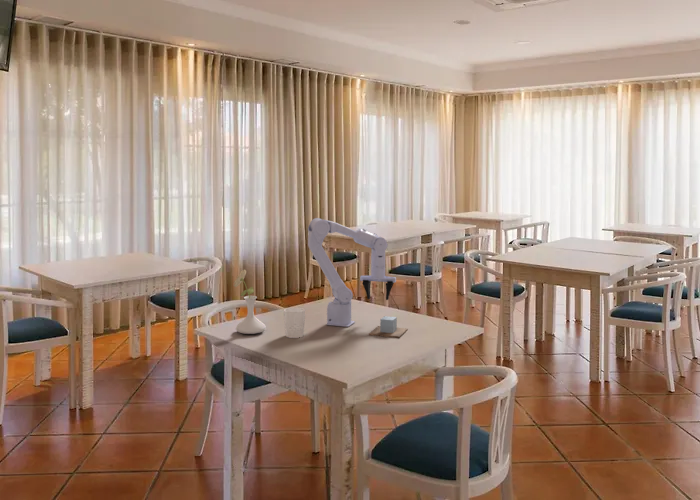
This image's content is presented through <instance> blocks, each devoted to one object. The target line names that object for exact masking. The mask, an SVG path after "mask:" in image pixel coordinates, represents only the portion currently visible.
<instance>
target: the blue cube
mask: <svg viewBox="0 0 700 500" xmlns="http://www.w3.org/2000/svg"><path fill="white" fill-rule="evenodd" d="M397 319H398V318H397V316H387V315H385V316H383V317H381V318H380V321H379V322H380V323H379V324H380V325H379V326H380V332H386V333H394V332H395V331H396V330H397V328H398V326H397V323H398V321H397Z"/></svg>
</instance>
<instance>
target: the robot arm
mask: <svg viewBox="0 0 700 500" xmlns="http://www.w3.org/2000/svg"><path fill="white" fill-rule="evenodd" d="M307 231H308V233H307V234H308V235H307V236H308V237H307V246H308V249H309V250H310V252H311V253H312V255H313V257H314V259H315V260H316V262H317V264H318V265H319V267H320V269H321V270H322V272H323V275H324V277H326V280H327V281H328V283H329V286H330V288H331V293H332V296H333V297H334V299H333V301H329V302H328V304H327V307H326V324H325V325H326V326H335V327H345V328H346V327H347V328H349V327H350V326H352V325H354V323H356V321H355V320H352V300H353V297H354V295H353V291H352V289H350V288H348V287H347V286H346V284H345V282H344V280H342V279H341V276H340V275H339V273H338V271H337V270H336V268H335V266H334V264H333V263H332V261H331V259H330V257H329V256H328V253H327V252H326V250H325V249H324V247H323V243H324V240H325V239H326V237H327V236H328V235H329V234H334V233H338V234H341V235H343V236H344V235H345V236H347V237H349V238H352V240H353V242H355V243H356V244H358V245H362V246H364V247H366V248H370V249H371V256H370V261H371V263H370V275H360V277H359V278H360V279H359V281H360V282H362V286H363V288H364V290H365V293H366V298H367V300H369V299H371V282H381V283H382V282H383V283H385V290H386V291H385V301H389V299H390V294H391V291H392V289H393V285H394V283H395V284H396V283H397V277H396V276H389V275H388V276H387V275H386V251H387V249H388V247H389V244H388V243H387V242H388V241H387V240H386V239H385V238H384V237H382V236H379V235H378V234H377V233H371V232H369V231H367V229H365V228H362V229H361V228H360V229H357V230H354V229H352V228H350V227H347V226H345V225H343V224H340V223H338V222H335V221H332V220H328V219H323V218H320V217H315V218H313V219H312V220H311V221H310V223H309V225H308V227H307Z"/></svg>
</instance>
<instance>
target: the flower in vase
mask: <svg viewBox="0 0 700 500" xmlns="http://www.w3.org/2000/svg"><path fill="white" fill-rule="evenodd" d="M246 275H247V270H246V269H243V270H241V271H240V272H239V275H237V276H236V279H235V280H234V282H233V287H234V288H237V287H238V286H240V285H241V283H242V282H243V284H244V286H245V290H243V291H242V292H241V293H240V297H243V299H244V300H245V302H246V307H247V315H246V316H245V318H244V319H243V320H241V322H239V323H238V324H237V325H236V328H235V330H236V331H237V332H238V333H241V334H246V335H256V334H260V333H262V332H264V331H265V330H266V328H267V326H266V324H265V323H263V321H261V320H259V319H258V318H257V317H256V316H255V313H254V307H255V301H256V299H257V298H258V296H256V295H252V294H254V292H255V290H254V287H253V286H250V287H249V288H248V287H247V284H246V282H245V280H244V279H245V277H246ZM246 294H247V295H246ZM245 295H246V296H245Z"/></svg>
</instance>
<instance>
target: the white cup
mask: <svg viewBox="0 0 700 500" xmlns="http://www.w3.org/2000/svg"><path fill="white" fill-rule="evenodd" d="M305 313H306V309H305V308H303V307H287V308H284V309H283V317H284V318H283V320H284V330H285V333H284V334H285V337H286V338H289V339H299V337H300V338H303V337H304V335H305V319H306V318H305V317H306V314H305Z"/></svg>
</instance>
